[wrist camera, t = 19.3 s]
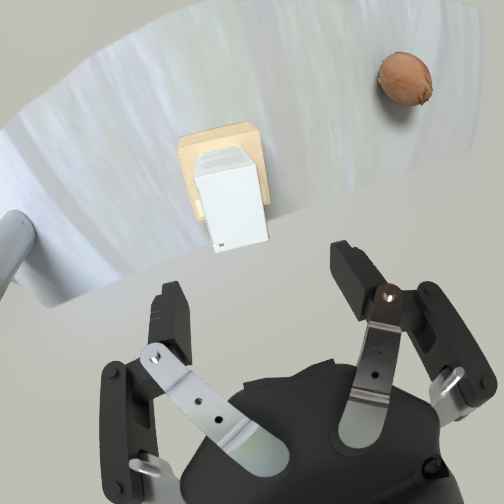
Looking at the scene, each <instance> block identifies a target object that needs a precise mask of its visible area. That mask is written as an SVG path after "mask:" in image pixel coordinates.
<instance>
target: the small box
mask: <svg viewBox="0 0 504 504" xmlns="http://www.w3.org/2000/svg"><path fill="white" fill-rule="evenodd" d="M193 179H194V183H195V186H196V189H197V192H198V195H199V199H200V202H201V206H202V209H203V213H204V216H205V220H206V224H207V227H208V231H209V234H210V238H211V242H212V246H213V251H214V253H218V252H223V251H227V250H231V249H236V248H239V247H244V246H248V245H252V244H257V243H261V242H265V241H268V240H269V235H268V229H267V222H266V216H265V210H264V204H263V198H262V193H261V187H260V181H259V175H258V170H257V165H256V163H255V162H254V161H253V160H252V158H251V157H250V156H249V155H248V154H247V152H246V151H245V150H244V149H243V147H242V146H241V145H236V146H231V147H226V148H222V149H217V150H213V151H209V152H205V153H201V154H197V157H196V163H195V171H194V178H193Z"/></svg>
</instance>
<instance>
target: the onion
mask: <svg viewBox="0 0 504 504" xmlns="http://www.w3.org/2000/svg"><path fill="white" fill-rule="evenodd" d="M378 74H379V78H378V79H377V80H378V82H379V83H380V84H381V86H382V88H383V90H384V92H385V94H386V95H387V96H388V97H389V98H391V99H392V100H393V101H395V102H397V103H399V104H401V105H405V106H416V105H419V104H421V106H422V105H423V104H424V103H425V102H426V101H429V100H428V99H429V98H430V97H431V95H432V90H433V89H432V80H431V75H430V72H429V70H428V68H427V66H426V65H425V64H424V63H423V62H422V61H421V60H420V59H419V58H417V57H416V56H414V55H412V54H409V53H403V52H395V54H392V55H390V56H388V57H387V58H386V59H385V60H384V61H383V63H382V65H381V67H380V71H379V73H378Z"/></svg>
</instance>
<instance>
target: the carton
mask: <svg viewBox="0 0 504 504" xmlns="http://www.w3.org/2000/svg"><path fill="white" fill-rule="evenodd" d="M254 130H257V129H256V128H255V127H254V126H253V125H251V124H250V123H249V122H248V121H246V122H241V123H236V124H231V125H226V126H222V127H217V128H213V129H209V130H205V131H201V132H197V133H193V134H189V135H185V136H182V137H181V138H180V141H179V144H178V147H177V148H181V147H184V146H188V145H192V144H195V143H199V142H203V141H207V140H212V139H216V138H220V137H225V136H229V135H234V134H239V133H243V132H249V131H254Z"/></svg>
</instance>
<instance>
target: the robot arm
mask: <svg viewBox="0 0 504 504" xmlns="http://www.w3.org/2000/svg"><path fill="white" fill-rule="evenodd" d="M35 240H36V235H35V230H34V227H33V225H32V223H31V222H30V220H29V219H28V218H27V217H26V216H25V215H24V214H23V213H21V212H19V211H14V210H13V211H9V212H8V213H7V214H6V215H5V216H4V217H3V218H2V219H1V220H0V300H1V298H2V297H3V295H4V293H5V291H6V289H7V287H8V285H9V283H10V282H11V280H12V279H13V277H14V275H15V274H16V272H17V270H18V269H19V267H20V265H21V264H22V262H23V261H24V259H25V258H26V256H27V255H28V253H29V252H30V250H31V249H32V247H33V246H34V244H35ZM330 270H331V274H332V276H333V278H334V279H335V281H336V283H337V284H338V286H339V288H340V290H341V291H342V293H343V295H344V297H345V298H346V300H347V302H348V304H349V305H350V307H351V309H352V311H353V312H354V314H355V316H356V318H357V319H358V321H362V320H365V319H366V321H367V323H368V324H367V328H366V332H365V336H364V340H363V344H362V348H361V351H360V355H359V358H358V362H357V365H356V366H353V365H349V364H335V362H334V359H329V360H326V361H324V362H320V363H317V364H314V365H311V366H309V367H308V368H306V369H304V370H302V371H301V372H299V373H297V374H295V375H294V376H291V377H280V378H263V379H259V380H255V381H250V382H245V383H243V386H244V389H243V390H241V391H239V392H237V393H236V394H235V395H233V396H232V397H231V398H230V399H229V400H228V401H226V400H225V399H223V398H222V397H221V396H220V395H219V394H218V393H217V392H215V391H214V390H213V389H212V388H211V387H210V386H209V385H207V384H206V383H205V382H204V381H203V380H202V379H201V378H200V377H198V376H197V375H196V374H195V373H194V372H193V371H190V370H189V369H188V368H187V367H186V366H187V365H192V352H191V333H190V310H189V305H188V302H187V300H186V298H185V295H184V294H183V291H182V289H181V287H180V285H179V283H178V281H174V282H169V283H165V284H163V285H162V295H158V296H156V297H155V299H154V300H153V302H152V304H151V315H150V324H149V335H148V345H147V346H146V347H145V348H144V349H143V350H142V352H141V355H140V357H139V358H138V359H136V360H134V361H132V362H130V363H128V364H126V365H124V364H123V363H122V362H120V361H112V362H110V363H108V364H107V365H106V366H105V367H104V369H103V371H102V376H101V390H100V415H99V441H100V465H101V478H102V488H103V492H104V494H105V496H106V498H107V499H108V500H109V501H111V502H112V503H114V504H464V502H463V498H462V496H461V493H460V490H459V487H458V484H457V482H456V479H455V477H454V476H453V474H452V473H451V471H450V470H449V468H448V467H447V466H446V464H445V462H444V461H443V459H442V457H441V454H440V448H439V435H440V429H441V428H442V427H444V426H446V425H447V424H449V423H451V422H452V421H460V420H462V419H463V418H464V417H466V416H468V415H469V414H470V413H471V412H473V411H474V410H476V409H477V408H478V407H480V406H481V405H482V404H484V403H485V402H486V401H488V400H489V399H490V398H491V397H493V395H494V394H495V392H496V390H497V379H496V376H495V375H494V373H493V371H492V369H491V367H490V365H489V364H488V361H487V360H486V358H485V356H484V354H483V352H482V351H481V349H480V348H479V346H478V344H477V342H476V341H475V339H474V338H473V336H472V334H471V332H470V331H469V329H468V328H467V326H466V325H465V323H464V321H463V320H462V318H461V317H460V316H459V314H458V312H457V311H456V309H455V308H454V307H453V305H452V304H451V302H450V301H449V299H448V298H447V297H446V295H445V294H444V293H443V291H442V290H441V288H440V287H439V286H438V285H437V284H435V283H433V282H430V281H425V282H422V283H420V284H419V286H418V288H417V290H401V289H400V288H399V287H398V286H396V285H394V284H390V283H387V281H386V280H385V279H384V277H383V276H382V275H381V273H380V272H379V271H378V269H377V268H376V267H375V265H373V263H372V262H371V260H369V258H368V256H367V255H366V254H365V253H364V251H362V250H360V249H358V248H357V247H354V248H351V246H350V245H349V244H348V243H347V241H346V240H342V241H338V242H334V243H331V246H330ZM405 331H406V332H407V334H408V336H409V338H410V339H411V341H412V343H413V345H414V347H415V349H416V351H417V353H418V355H419V357H420V358H421V361H422V363H423V364H424V367H425V369H426V371H427V373H428V375H429V377H430V379H431V381H432V383H431V385H430V388H429V395H430V400H431V403H430V404H429V403H427V402H426V401H424V400H422V399H419V398H417V397H415V396H413V395H411V394H409V393H407V392H405V391H403V390H401V389H399V388H397V387H395V386H393V385H392V383H393V378H394V373H395V368H396V363H397V358H398V352H399V346H400V339H401V332H405ZM165 393H166V394H167V395H168V397H169V398H170V399H171V400H172V401H173V402H174V403H175V404H176V405H177V406H178V407H179V408H180V410H181V411H182V412H183V413H184V414H185V415H186V416H187V417H188V418H189V419H190V420H191V421H192V422H193V423H194V424H195V425H197V426H198V428H200V429H201V430H202V431H203V432H204V433H205V434H206V436H205V438H204V440H203V441H202V443H201V445H200V446H199V448H198V449H197V451H196V453H195V454H194V456H193V457H192V459H191V461H190V462H189V464H188V465H187V467H186V468H185V470H184V472H183V474H182V476H181V479H180V480H179V479H178V478H177V477H175V475H174V474H173V472H172V469H171V467H170V465H169V464H168V463H167V462H166V461H165V460H164V459H161V458H159V454H158V446H157V438H156V429H155V417H154V405H153V399H154V398H156V397H158V396H160V395H162V394H165Z"/></svg>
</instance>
